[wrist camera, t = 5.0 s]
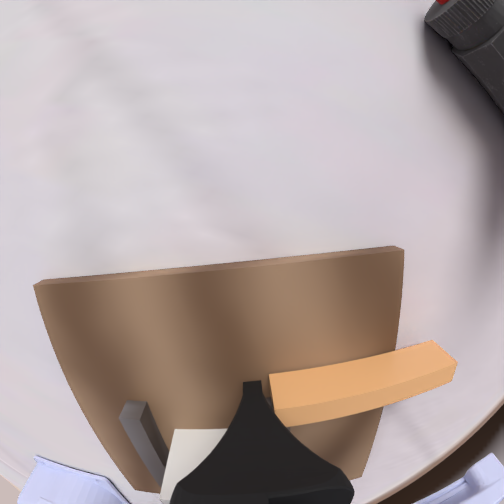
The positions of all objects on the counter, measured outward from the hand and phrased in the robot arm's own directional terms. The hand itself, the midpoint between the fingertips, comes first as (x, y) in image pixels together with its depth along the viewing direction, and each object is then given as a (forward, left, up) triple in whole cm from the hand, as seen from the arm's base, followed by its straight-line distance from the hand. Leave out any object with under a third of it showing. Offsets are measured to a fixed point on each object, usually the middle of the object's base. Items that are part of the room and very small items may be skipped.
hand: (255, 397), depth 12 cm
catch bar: (+5, 0, -1) cm, 5 cm away
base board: (-2, -3, -2) cm, 4 cm away
